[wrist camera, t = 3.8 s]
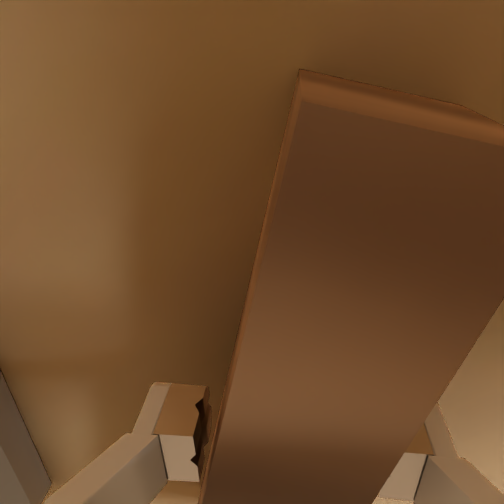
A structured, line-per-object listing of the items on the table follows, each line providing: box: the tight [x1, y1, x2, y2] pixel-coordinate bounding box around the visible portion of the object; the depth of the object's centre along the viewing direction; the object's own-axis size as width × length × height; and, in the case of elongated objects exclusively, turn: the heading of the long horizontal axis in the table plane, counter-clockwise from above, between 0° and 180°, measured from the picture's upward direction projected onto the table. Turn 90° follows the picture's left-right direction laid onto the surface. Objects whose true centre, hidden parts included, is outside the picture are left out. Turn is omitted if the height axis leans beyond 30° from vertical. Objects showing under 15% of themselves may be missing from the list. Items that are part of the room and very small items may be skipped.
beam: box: [198, 69, 504, 504], centre depth 11 cm, size 16×4×4 cm, turn 169°
